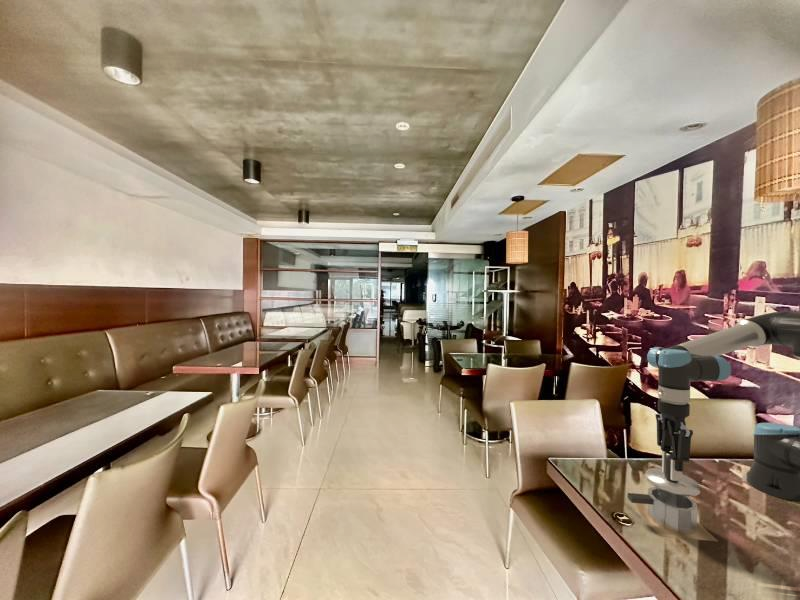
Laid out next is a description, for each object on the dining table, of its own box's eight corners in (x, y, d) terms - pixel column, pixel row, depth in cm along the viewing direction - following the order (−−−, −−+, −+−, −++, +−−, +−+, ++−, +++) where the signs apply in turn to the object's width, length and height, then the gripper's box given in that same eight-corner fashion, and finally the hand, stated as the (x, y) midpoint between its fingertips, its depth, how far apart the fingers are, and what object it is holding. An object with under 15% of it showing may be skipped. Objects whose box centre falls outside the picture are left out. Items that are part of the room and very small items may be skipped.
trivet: (681, 508, 108) (681, 506, 108) (718, 543, 93) (718, 541, 93) (631, 504, 110) (631, 502, 110) (659, 537, 95) (659, 535, 95)
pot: (679, 509, 107) (679, 488, 106) (706, 536, 95) (707, 512, 95) (620, 504, 109) (620, 483, 109) (639, 529, 98) (640, 506, 98)
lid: (680, 473, 107) (681, 445, 107) (712, 498, 94) (712, 467, 94) (636, 470, 109) (637, 443, 109) (661, 494, 96) (661, 463, 96)
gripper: (644, 391, 109) (642, 461, 110) (678, 409, 93) (676, 491, 94) (669, 393, 108) (667, 463, 109) (708, 411, 92) (706, 493, 93)
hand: (671, 476), depth 101 cm, fingers closed on lid, 3 cm apart
